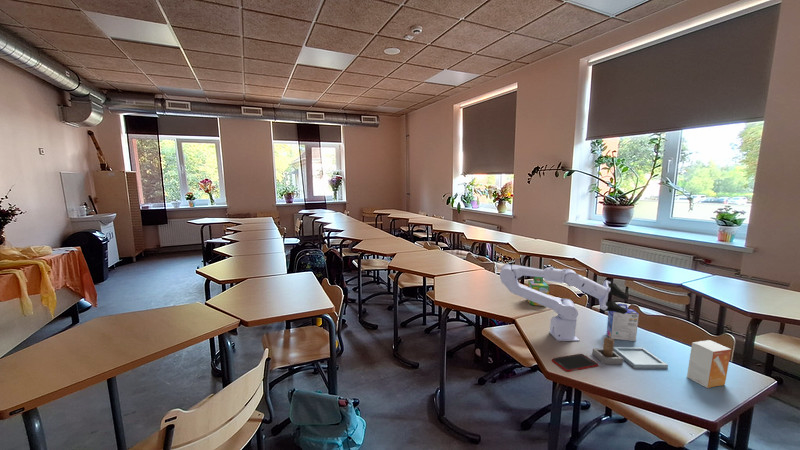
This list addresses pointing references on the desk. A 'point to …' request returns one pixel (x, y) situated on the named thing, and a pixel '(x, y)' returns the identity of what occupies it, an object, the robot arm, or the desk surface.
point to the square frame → (607, 360)
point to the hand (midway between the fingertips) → (626, 305)
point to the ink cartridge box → (622, 324)
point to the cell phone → (574, 362)
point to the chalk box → (538, 288)
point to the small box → (708, 363)
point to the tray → (640, 357)
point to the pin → (608, 347)
